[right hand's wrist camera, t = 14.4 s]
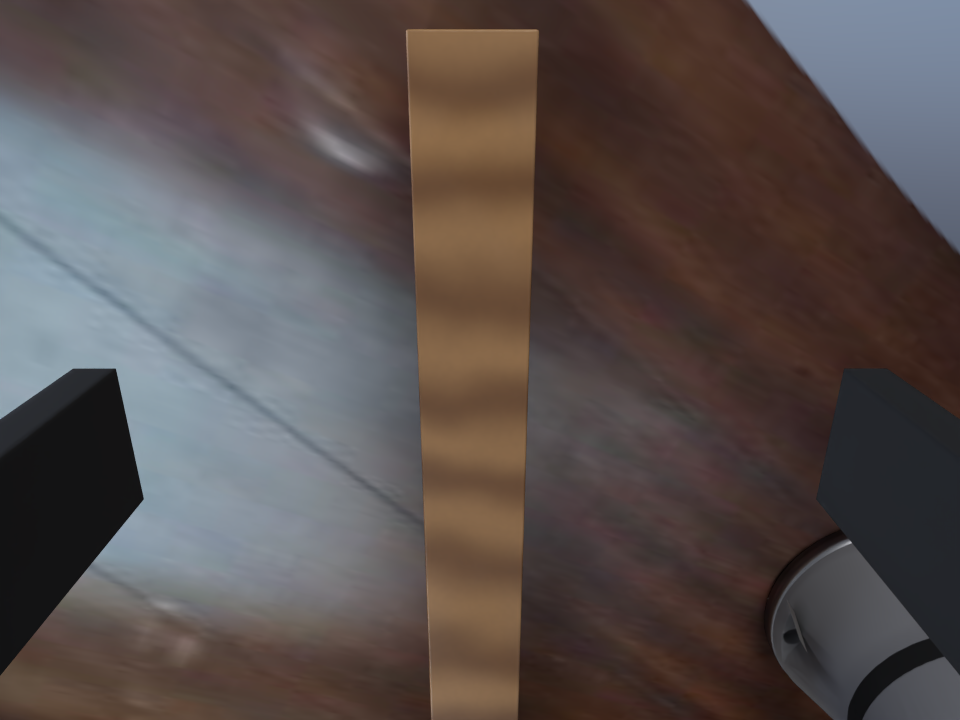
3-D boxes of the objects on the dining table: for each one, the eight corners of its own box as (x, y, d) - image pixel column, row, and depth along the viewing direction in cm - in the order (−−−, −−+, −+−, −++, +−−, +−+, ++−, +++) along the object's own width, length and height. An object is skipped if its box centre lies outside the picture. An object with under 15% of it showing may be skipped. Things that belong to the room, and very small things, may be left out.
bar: (421, 39, 36) (405, 29, 28) (525, 39, 36) (539, 29, 28) (446, 923, 64) (443, 1041, 57) (504, 923, 64) (508, 1041, 57)
